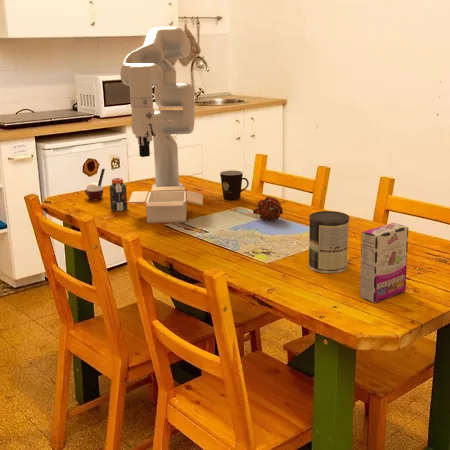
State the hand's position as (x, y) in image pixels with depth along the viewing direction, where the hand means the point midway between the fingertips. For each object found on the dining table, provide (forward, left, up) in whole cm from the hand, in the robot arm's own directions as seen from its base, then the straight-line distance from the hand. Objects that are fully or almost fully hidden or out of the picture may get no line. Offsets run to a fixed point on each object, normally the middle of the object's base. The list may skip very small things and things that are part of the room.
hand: (144, 156), depth 221 cm
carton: (+7, +4, -20) cm, 22 cm away
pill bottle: (-5, -11, -20) cm, 23 cm away
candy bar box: (+81, +61, -20) cm, 104 cm away
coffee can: (+61, +52, -20) cm, 83 cm away
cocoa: (-22, -22, -20) cm, 37 cm away
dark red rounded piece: (+14, +41, -20) cm, 48 cm away
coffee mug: (-15, +31, -20) cm, 40 cm away
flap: (+7, +14, -13) cm, 20 cm away
